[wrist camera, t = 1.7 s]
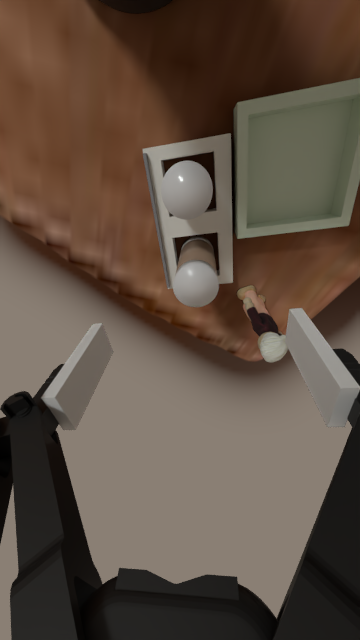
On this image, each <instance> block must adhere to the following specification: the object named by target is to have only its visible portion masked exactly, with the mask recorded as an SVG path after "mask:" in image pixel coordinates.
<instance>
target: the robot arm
mask: <svg viewBox="0 0 360 640" xmlns="http://www.w3.org/2000/svg"><path fill="white" fill-rule="evenodd" d="M99 1H101V2H102V3H104V4H106V5H108V6H109V7H111V8H114V9H116V10H119V11H123V12H127V13H146V12H150V11H153V10H157V9H159V8H161V7H163V6H165V5H166V4H168V3H170V2H171V1H172V0H99ZM285 343H286V345H287V347H288V349H289V351H290V353H291V355H292V357H293V359H294V361H295V363H296V365H297V367H298V369H299V371H300V373H301V375H302V377H303V379H304V381H305V383H306V385H307V387H308V389H309V391H310V393H311V395H312V397H313V399H314V401H315V403H316V405H317V407H318V409H319V411H320V413H321V415H322V417H323V419H324V421H325V423H326V425H327V427H345V424H346V422H347V420H348V421H349V422H350V424H351V426H352V430H351V432H350V434H349V437H348V439H347V442H346V445H345V447H344V450H343V453H342V455H341V458H340V460H339V463H338V465H337V468H336V470H335V473H334V475H333V478H332V481H331V483H330V486H329V488H328V491H327V493H326V496H325V499H324V501H323V504H322V506H321V508H320V511H319V514H318V516H317V519H316V521H315V524H314V526H313V529H312V531H311V534H310V537H309V539H308V542H307V544H306V547H305V549H304V552H303V554H302V557H301V560H300V562H299V564H298V567H297V570H296V572H295V575H294V577H293V579H292V582H291V584H290V587H289V589H288V591H287V594H286V596H285V599H284V602H283V604H282V607H281V609H280V612H279V614H278V617H277V619H276V617H275V616H274V614H273V613H272V612H271V610H270V609H269V608H268V607H267V606H266V604H265V603H264V602H263V601H262V600H261V599H260V598H259V597H258V596H257V595H255V594H254V593H253V592H251V591H250V590H249V589H247V588H246V587H244V586H242V585H240V584H238V582H237V577H231V576H218V575H217V576H216V575H204V576H201V577H198V578H194V579H191V580H188V581H185V582H182V583H179V584H173V583H171V582H169V581H167V580H165V579H163V578H161V577H159V576H157V575H155V574H153V573H151V572H149V571H147V570H139V569H126V568H119V572H118V576H116V577H115V578H112V579H110V580H108V581H107V582H105V583H104V584H102V581H101V578H100V576H99V573H98V571H97V569H96V568H95V565H94V564H93V561H92V558H91V555H90V551H89V547H88V543H87V539H86V536H85V532H84V529H83V525H82V521H81V518H80V514H79V510H78V506H77V502H76V499H75V495H74V492H73V488H72V484H71V480H70V477H69V473H68V469H67V466H66V462H65V458H64V455H63V451H62V447H61V444H60V440H59V437H58V433H57V431H56V428H57V426H58V424H59V425H60V426H61V427H62V429H63V430H76V428H77V426H78V424H79V422H80V420H81V418H82V416H83V414H84V412H85V410H86V407H87V405H88V403H89V401H90V399H91V397H92V395H93V393H94V391H95V389H96V387H97V385H98V382H99V380H100V378H101V376H102V374H103V372H104V370H105V368H106V366H107V364H108V362H109V360H110V358H111V356H112V354H113V350H112V347H111V345H110V342H109V339H108V337H107V334H106V331H105V329H104V326H103V324H93V325H92V326H91V327H90V329H89V330H88V332H87V333H86V335H85V336H84V338H83V339H82V340H81V342H80V343H79V344H78V346H77V347H76V349H75V350H74V352H73V353H72V355H71V356H70V357H69V359H68V360H67V362H66V363H65V364H61V365H59V366H58V367H57V368H56V369H55V370H53V372H52V373H51V375H50V376H49V378H48V379H47V380H46V381H45V383H44V384H43V385H42V387H41V388H40V389H39V391H38V392H37V394H36V395H35V396H34V398H32V397H31V395H30V394H29V393H28V392H25V391H24V392H19V393H16V394H14V395H12V396H10V397H9V398H8V399H7V400H5V401H4V403H3V404H2V405H1V409H0V410H2V412H3V413H4V414H5V415H6V417H3V418H0V543H1V538H2V533H3V528H4V524H5V519H6V514H7V509H8V505H9V499H10V495H11V490H12V485H13V486H14V503H15V519H16V535H17V548H18V549H17V551H18V567H19V573H18V577H17V578H16V579H15V581H14V582H13V583H12V587H11V593H10V594H11V595H10V607H11V635H12V640H360V364H359V363H358V361H357V360H356V359H355V358H354V357H353V355H352V354H350V353H349V352H347V351H346V350H344V349H332V348H331V347H330V346H329V344H328V343H327V342H326V340H325V339H324V338H323V336H322V335H321V334H320V332H319V331H318V330H317V328H316V327H315V325H314V324H313V323H312V321H311V320H310V319H309V317H308V316H307V314H306V313H305V312H304V310H303V309H302V308H296V309H289V316H288V324H287V331H286V338H285Z"/></svg>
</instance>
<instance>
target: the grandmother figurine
mask: <svg viewBox="0 0 360 640" xmlns="http://www.w3.org/2000/svg"><path fill="white" fill-rule="evenodd" d="M237 296H238V298H239V299H240V300H243V303H244V305H243V309H244V311H245V313H246V315H247V316H248V318H249V319H250V321H251V323H252V326H253V330H254V331H255V332H256V333H257V334H258V335H259V339H258V347H259V349H260V351H261V354H262V356H263V357H264V359H265V360H266V361H268V362H275V361H278V360H280V359H281V358H282V357H283V356H284V355H285V354H286V352H287V350H288V347H287V345H286V343H285V338H286V335H282V333H281V332H280V331H278V327H277V325H276V323H275V322H274V320H273V318H272V317H271V316H270V314H269V313H268V311H267V310H266V308H265V304H264V302H265V300H266V299H265V297H264V296H263V295H258V296H257V294H256V289H255V287H254V286H247V287H244V288H241V289H239V290H238V292H237Z"/></svg>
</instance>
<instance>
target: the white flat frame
mask: <svg viewBox="0 0 360 640" xmlns="http://www.w3.org/2000/svg"><path fill="white" fill-rule="evenodd" d="M212 152H213V156H214V177H215V197H216V208H213V209H206V210H205V212H204V213H202V214H201V215H200V216H198V217H196V218H194V219H190V220H184V219H179V218H177V217H175V216H173V215H172V214H171V213H170V212H169V211H168V210H167V208H166V207H165V205H164V203H163V200H162V196H161V185H162V181H163V178H164V176H165V169H164V162H163V161H165V160H171V159H177V158H183V157H188V156H194V155H200V154H206V153H212ZM143 158H144V163H145V169H146V174H147V180H148V185H149V190H150V196H151V201H152V207H153V212H154V218H155V223H156V229H157V234H158V240H159V245H160V251H161V256H162V261H163V267H164V272H165V278H166V283H167V288H168V289H171V288H173V283H174V278H175V274H176V270H177V266H178V258H177V251H176V244H175V238H176V237H184V236H192V235H200V234H208V233H216V232H217V239H218V260H219V270H217V276H218V283H219V284H224V283H233V245H232V175H231V133H228V134H223V135H217V136H212V137H206V138H201V139H195V140H190V141H185V142H179V143H174V144H168V145H163V146H157V147H152V148H146V149H143Z"/></svg>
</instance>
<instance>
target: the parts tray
mask: <svg viewBox="0 0 360 640" xmlns="http://www.w3.org/2000/svg"><path fill="white" fill-rule="evenodd" d="M233 113H234V223H235V235H236V237H237V239H241V238H249V237H258V236H266V235H275V234H283V233H291V232H300V231H308V230H317V229H325V228H334V227H342V226H349V222H350V218H351V214H352V210H353V206H354V202H355V198H356V194H357V189H358V185H359V181H360V78H357V79H352V80H347V81H342V82H337V83H332V84H327V85H322V86H317V87H312V88H307V89H302V90H297V91H292V92H287V93H282V94H277V95H272V96H267V97H262V98H257V99H252V100H247V101H242V102H237V104H236V106H235V108H234V109H233Z"/></svg>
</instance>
